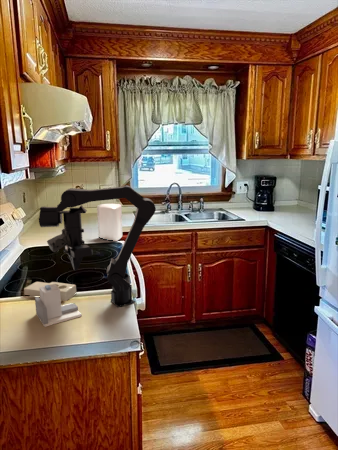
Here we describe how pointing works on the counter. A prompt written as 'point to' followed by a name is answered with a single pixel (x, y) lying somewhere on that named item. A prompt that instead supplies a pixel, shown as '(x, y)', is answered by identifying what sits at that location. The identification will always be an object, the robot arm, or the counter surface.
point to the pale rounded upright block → (109, 221)
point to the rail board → (67, 313)
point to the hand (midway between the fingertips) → (75, 270)
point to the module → (51, 300)
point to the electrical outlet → (65, 289)
